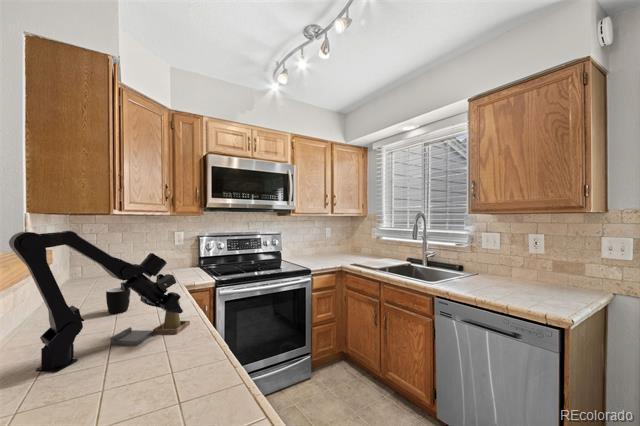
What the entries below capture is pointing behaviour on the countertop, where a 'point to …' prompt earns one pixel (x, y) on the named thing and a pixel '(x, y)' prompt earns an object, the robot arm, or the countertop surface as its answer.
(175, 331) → the socket collar
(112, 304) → the mug
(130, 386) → the countertop surface
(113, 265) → the robot arm
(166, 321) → the cork
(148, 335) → the gray hardcover book
